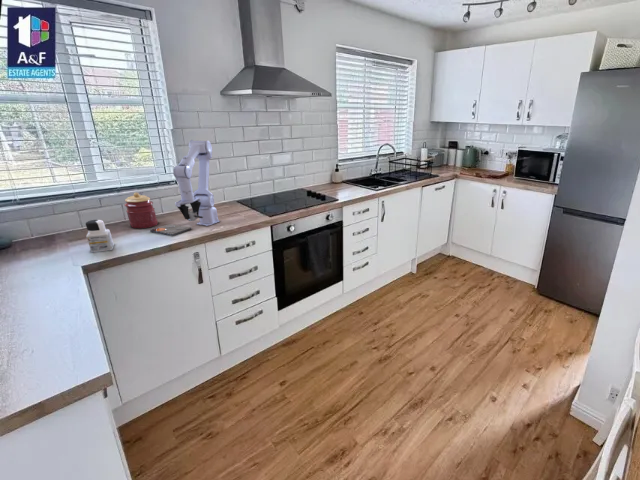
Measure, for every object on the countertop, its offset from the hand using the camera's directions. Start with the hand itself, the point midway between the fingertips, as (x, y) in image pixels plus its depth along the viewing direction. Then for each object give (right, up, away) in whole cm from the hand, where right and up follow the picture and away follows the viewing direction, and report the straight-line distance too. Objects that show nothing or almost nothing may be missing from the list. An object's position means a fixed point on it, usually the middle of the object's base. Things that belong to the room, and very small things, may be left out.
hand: (191, 217), depth 190 cm
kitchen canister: (-31, -2, +11) cm, 33 cm away
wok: (+2, -2, 0) cm, 3 cm away
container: (-30, -18, -21) cm, 41 cm away
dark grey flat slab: (-13, -6, +4) cm, 15 cm away
